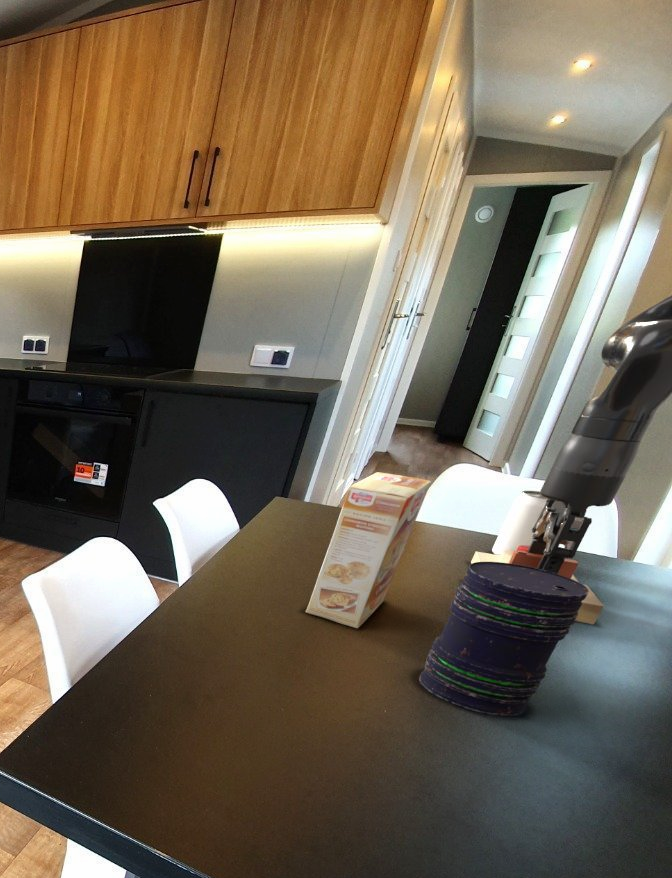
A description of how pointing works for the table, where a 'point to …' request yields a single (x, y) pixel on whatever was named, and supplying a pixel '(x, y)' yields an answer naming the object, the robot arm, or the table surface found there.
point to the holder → (534, 560)
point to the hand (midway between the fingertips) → (536, 571)
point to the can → (520, 522)
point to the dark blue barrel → (501, 636)
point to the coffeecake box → (366, 547)
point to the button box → (497, 558)
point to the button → (523, 548)
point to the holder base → (589, 608)
